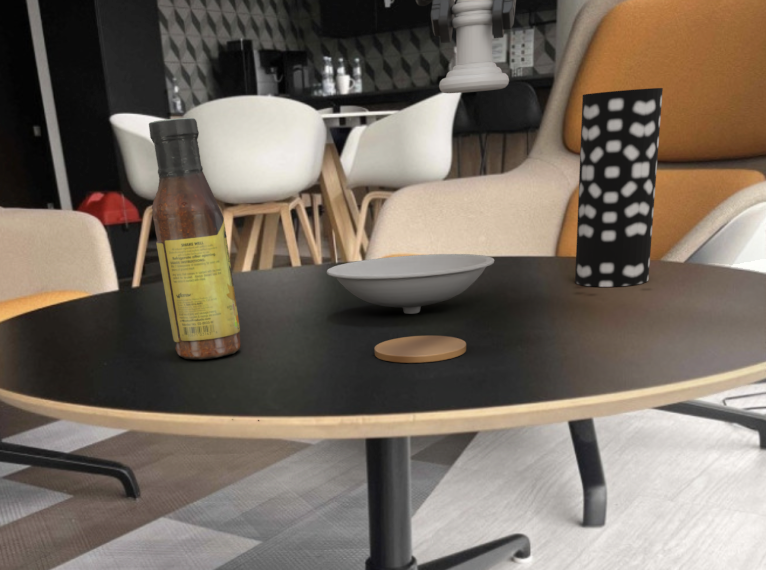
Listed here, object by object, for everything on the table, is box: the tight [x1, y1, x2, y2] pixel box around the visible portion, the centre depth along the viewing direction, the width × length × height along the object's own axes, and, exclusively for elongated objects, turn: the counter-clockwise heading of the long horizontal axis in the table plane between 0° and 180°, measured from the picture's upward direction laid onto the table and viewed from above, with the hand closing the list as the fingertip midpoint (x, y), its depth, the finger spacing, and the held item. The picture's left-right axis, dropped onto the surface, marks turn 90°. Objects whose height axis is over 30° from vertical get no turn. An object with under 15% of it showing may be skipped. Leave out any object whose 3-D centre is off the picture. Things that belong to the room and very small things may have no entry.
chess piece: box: [438, 0, 510, 94], centre depth 66 cm, size 5×5×9 cm
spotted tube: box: [574, 87, 664, 288], centre depth 99 cm, size 8×8×20 cm
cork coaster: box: [374, 335, 467, 364], centre depth 76 cm, size 8×8×1 cm
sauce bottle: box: [148, 117, 241, 361], centre depth 77 cm, size 6×6×20 cm
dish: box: [326, 253, 495, 315], centre depth 93 cm, size 18×14×5 cm
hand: (471, 29), depth 64 cm, fingers closed on chess piece, 3 cm apart
